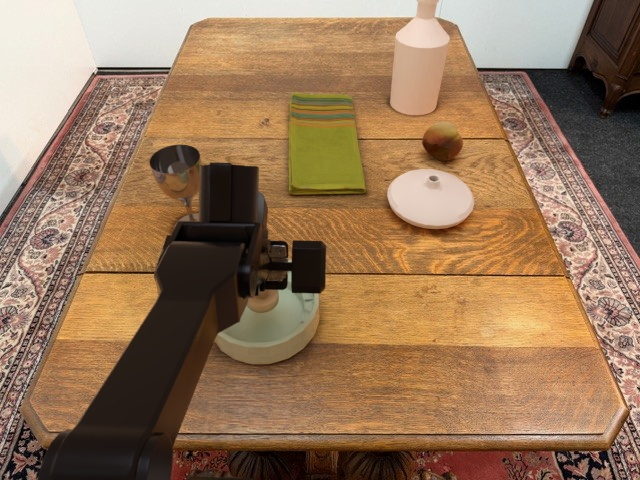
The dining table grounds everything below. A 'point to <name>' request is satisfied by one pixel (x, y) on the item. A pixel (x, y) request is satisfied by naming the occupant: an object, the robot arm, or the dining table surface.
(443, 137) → the fruit
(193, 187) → the wine glass
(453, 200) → the flat round vase
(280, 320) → the bowl
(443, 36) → the bottle
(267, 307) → the beige piece
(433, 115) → the dining table surface
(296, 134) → the dish towel
